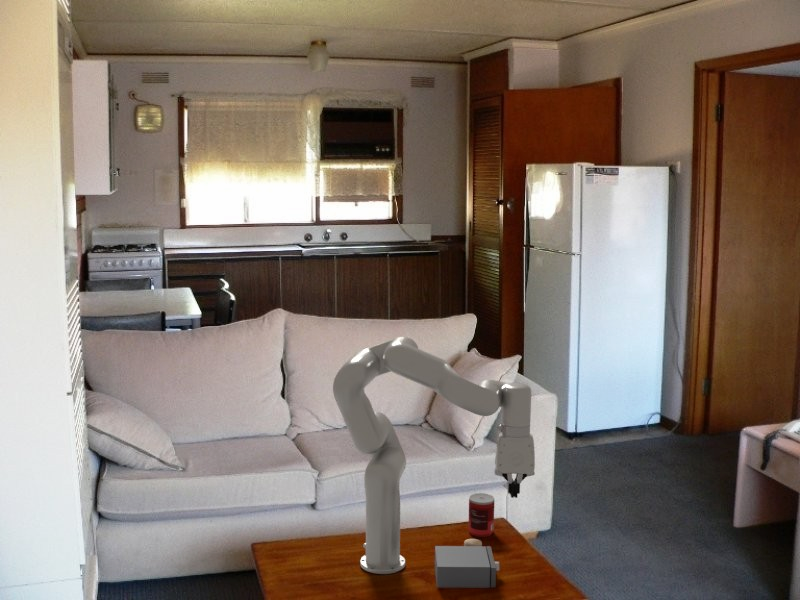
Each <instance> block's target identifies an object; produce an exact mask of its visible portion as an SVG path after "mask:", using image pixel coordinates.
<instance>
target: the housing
mask: <svg viewBox="0 0 800 600" xmlns="http://www.w3.org/2000/svg"><path fill="white" fill-rule="evenodd" d="M434 571H435V582H436V587H437V588H463V589H464V588H468V589H469V588H475V589H476V588H480V589H481V588H484V589H485V588H486V589H487V588H488V589H489V588H491V585H490V564H489V560H488V555H487V551H486V546H485V545H484V546H483V545H482V546H464V545H460V546H459V545H434Z"/></svg>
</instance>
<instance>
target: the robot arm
mask: <svg viewBox="0 0 800 600" xmlns="http://www.w3.org/2000/svg"><path fill="white" fill-rule="evenodd" d="M390 372H392V373H394V374H396V375H398V376H400V377H403V378H405V379H408V380H410V381H412V382H414V383H417V384H419V385H421V386H424V387H426V388H428V389H429V390H432V391H434V392H435V393H436V394H437V395H439V396H441V397H442V398H444V400H446V401H448V402H450V403H451V404H453V405H454V406H457V408H461V409H463V410H465V411H467V412H470V413H472V414H475V415H478V416H481V417H489V416H492V415H494V414H495V413H497V411H498V410H499V409H500V408H501V422H500V424H498V425H495V430H496V431H498V432H499V433H498V438H497V442H496V450H495V459H494V460H495V462H494V464H495V467H494V471H493V473H494V475H495V476H498V477H503V478H504V479H505V480H506V482H507V493H508V494H509V495H510V497H511V499H513V498H516V499H518V495H519V494H520V492H521V490H520V489H521V484H522V482H523V481H524V480H525V479H526V478H527V477H531V476H535V474H536V473H535V467H536V466H535V465H536V461H535V459H536V457H535V442H534V441H535V440H534V436H533V435H532V434H531V413H532V410H531V409H532V389H531V387H530V386H529V385H528V384H525V383H521V382H510V383H509V382H504V381H499V380H495V379H483V380H482V381H480V382H479V383H478V384H477V383H474V382H472V381H469V380H468V379H466V378H464V377H463V376H461V375H459V374H458V373H457V371H455V370H454V369H453V366H451V364H450V363H449V362H448V361H447V360H445V359H443V358H440V357H438V356H436V355H433V354H431V353H429V352H426V351H424V350H422V349H420V348H419V346H418V343H416V342H415V340H414V339H412V338H410V337H408V336H398V337H395V338H393V339H390V340H386V341H384V342H381V343H379V344H375V345H373V346H370V347H366V348H363V349H361V350H359V351H358V352H356V353H355V354H354V355H353V356H351V357H350V358H349V359H348V360H347V361H346V362H344V364H343V365H342V367H340V369H339V370H338V371H337V373H336V375H335V377H334V379H333V383H332V393H333V397H334V400H335V402H336V405H337V407H338V409H339V412H340V414H341V416H342V419H343V422H344V424H345V427H346V428H347V431H348V433H349V436H350V438H351V441H352V443H353V446H354V447H355V449H356V450H357V451H358V452H359V453H361V454H364V455H370V458H371V459H370V460H369V462H368V463H367V465H366V468H365V470H364V474H363V475H364V477H363V480H364V491H365V492H364V493H365V543H363V544H362V546H363V548H364V549H365V554H364V555H363V556H361V558H360V560H359V564H360V567H361V568H362V569H363V571H366V572H367V573H368V572H369V573H372V574H378V575H388V574H389V575H390V574H394V573H397V572H400V571H402V570H403V569H404V568H405V566H406V559H405V557H404V556H402V555H401V543H400V542H401V492H400V481H401V478H402V476H403V474H404V472H405V469H406V468H407V467H406V465H407V458H406V455H405V451H404V449H403V446H402V444H401V442H400V439H399V438H398V435H397V432H396V430H395V428H394V425H393V424H392V422H391V420H390V419H389V417H388V416H387V415H386V414H384V413H383V412H380V411H377V410H374V408H373V406H372V402H371V401H370V399H369V397H368V396H367V394H366V392H365V388H366V387H367V386H369V384H371V382H372V381H374V379H375V378H377V377H379V376H382V375H385V374H387V373H390ZM513 474H514V475H515V474H516V475H515V478H514V479H513Z"/></svg>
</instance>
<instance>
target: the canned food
mask: <svg viewBox="0 0 800 600" xmlns="http://www.w3.org/2000/svg"><path fill="white" fill-rule="evenodd" d="M494 525H495V497H494V496H493V495H492V494H489V493H485V492H480V493H479V492H478V493H473V494H470V495H469V499H468V532H469V534H470V535H472V536H473V537H477V538H487V536H488V537H490V536H492V535H493V534H492V533H494V528H495V527H494ZM491 534H492V535H491Z"/></svg>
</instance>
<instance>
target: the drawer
mask: <svg viewBox="0 0 800 600" xmlns="http://www.w3.org/2000/svg"><path fill="white" fill-rule="evenodd" d="M485 547H486V551H487V555H488V560H489V564H490V588H496V584H497V583H496V580H497V579H496V578H497V576H496V575H497V572H500V561H495V559H494V555H493V551H492V545H491V546H490V545H488V546H487V545H486V546H485Z"/></svg>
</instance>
